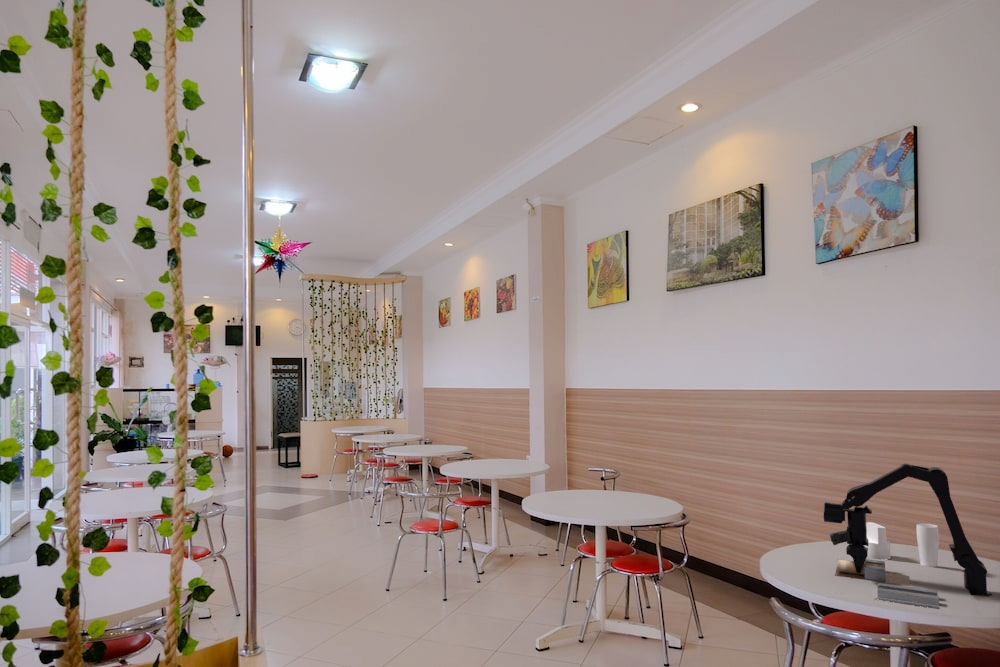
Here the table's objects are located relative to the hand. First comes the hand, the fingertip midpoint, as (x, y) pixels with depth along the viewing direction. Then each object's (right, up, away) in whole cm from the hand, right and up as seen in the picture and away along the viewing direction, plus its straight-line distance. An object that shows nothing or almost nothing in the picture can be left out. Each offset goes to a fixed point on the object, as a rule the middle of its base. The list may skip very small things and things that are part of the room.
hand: (858, 570), depth 229 cm
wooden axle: (+1, -1, 0) cm, 1 cm away
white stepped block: (+20, -4, +24) cm, 32 cm away
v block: (+2, -1, -23) cm, 24 cm away
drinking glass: (+31, -3, +10) cm, 33 cm away
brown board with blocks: (+4, -2, -3) cm, 5 cm away
